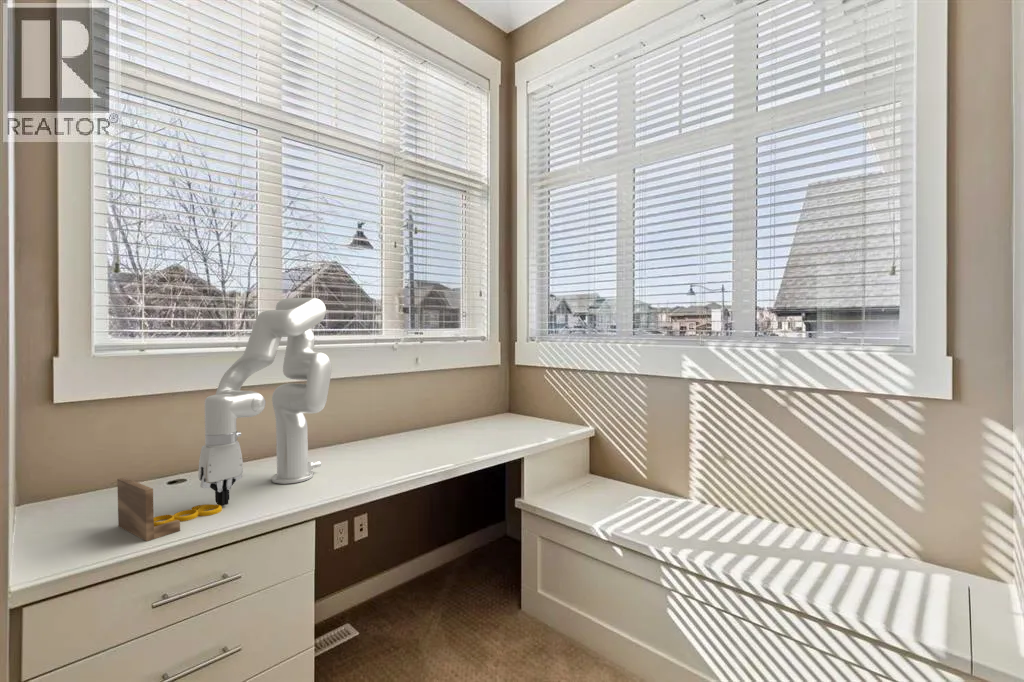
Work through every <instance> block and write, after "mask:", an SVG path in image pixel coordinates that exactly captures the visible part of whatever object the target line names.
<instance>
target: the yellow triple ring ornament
mask: <svg viewBox="0 0 1024 682" xmlns="http://www.w3.org/2000/svg"><path fill="white" fill-rule="evenodd" d="M222 509H223V506H221V505H218V504H209V503H207V504H198V505H195V506H192V507H191V509H186V510H181V511H179V512H178V511H177V512H176V513H174V514H173V515H172V514H161V515H158V516H154V527H155V526H158V525H162V524H165V523H168V522H172V521H175V520H179V521H180V523H181V522H186V521H187V522H188V521H192V520H194V519H197V518H199V517H209V516H213V515H216V514H219V513H221V512H222Z"/></svg>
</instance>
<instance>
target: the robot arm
mask: <svg viewBox="0 0 1024 682" xmlns="http://www.w3.org/2000/svg"><path fill="white" fill-rule="evenodd" d="M326 314H327V308H326V305H325V303H324V302H323V300H322V299H319V298H316V297H295V298H294V297H290V298H283V299H281V300H279V301H278V302H277V303H276V306H275V309H270V310H269V309H268V310H263V311H261V312H260V313H258V315H257V317H256V318H255V320H254V324H253V326H252V330H251V332H250V335H249V338H248V341H247V343H246V346H245V348H244V349H245V350H244V351H243V354H242V355H241V356H240V357H239V358H238V359H237V360H236V361H235V362H234V363H233V364H232V365H231V366H230V367H229V368H228V369H227V370H226V372H224V374H223V375H222V377H221V379H220V381H219V383H218V386H217V389H216V392H215V394H213V395H209V396H207V397H205V399H204V437H205V439H204V443H205V444H204V445H202V446H201V448H200V454H199V460H198V480H199V481H201V482H200V486H199V487H200V488H203V489H211V490H213V491H214V493H215V495H214V496H215V497H214V498H215V499H214V501H215V503H216V505H220V506H221V507H223V506H226V505H229V500H230V490H231V489H232V486H233V484H235V482H237V481H240V480H241V479H243V472H244V466H243V465H244V463H243V453H242V448H241V445H240V442H239V441H238V438H239V437H241V436H242V432H241V431H238V430H237V419H238V418H251V417H256V416H258V415H260V414H261V413H263V411H264V410H265V407H266V399H265V397H264V396H263V395H262V394H261V393H259V392H258V391H253V390H241V388H242V386H243V385H244V383H245V382H246V381H247V379H249V378H250V377H251V376H252V375H254V374H255V373H257V372H259V371H261V370H263V369H265V368H267V367H269V366H270V365H271V366H272V364H273V363H274V361H275V358H276V354H277V352H278V349H279V345H280V342H281V341H282V340H281V339H282V338H287V340H286V341H287V342H286V348H285V351H284V352H285V353H284V359H283V364H282V372H283V375H284V376H285V377H286V378H288V379H290V380H301V381H306V383H295V382H293V383H292V382H291V383H290V382H289V383H283V384H281V385H279V386H277V387H276V388H275V390H273V393H272V397H271V401H272V407H273V411H274V417H275V429H276V430H275V435H276V439H275V440H276V441H275V442H276V446H275V447H276V449H275V450H276V473H275V474H273V475H272V476H271V482H272V483H275V484H281V485H287V484H295V483H296V484H297V483H301V482H305V481H308V480H310V479H312V478H313V477H314V472H313V471H312V470H313V469H315V468H319V467H321V465H322V462H321V461H320V460H317V461H314V462H313V461H309V443H308V441H309V440H308V439H309V438H308V437H309V435H308V433H309V432H308V430H309V429H308V421H307V418H306V416H305V414H318V413H320V412H322V410H324V408H325V407H326V404H327V400H328V396H329V395H328V394H329V389H330V383H331V377H332V363H331V359H330V357H329V356H328V355H327V354H326V353H325V352H321V351H314V350H315V349H314V348H315V334H314V332H313V330H312V328H314V327H315V326H317V325H318V324H320V323H321V322H322V321H324V319H325V317H326Z"/></svg>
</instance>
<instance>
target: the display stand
mask: <svg viewBox="0 0 1024 682" xmlns="http://www.w3.org/2000/svg"><path fill="white" fill-rule="evenodd" d="M116 482H117V484H116V485H117V519H118V521H117V523H118V525H117V526H118V527H119V528H120V529H123V530H124V531H126V532H129V533H131V534H132V535H134V536H136V537H138V538H140V539H141V540H143V541H146V542H149V541H152V540H155V539H158V538H161V537H165V536H169V535H170V534H171V535H172V534H175V533H178V532H180V531H181V522H180V521H179V520H175V521H172V522H168V523H165V524H162V525H158V526H155V527H154V517H155V516H154V515H155V514H154V489H153V488H152V487H150V486H148V485H145V484H142V483H139V482H138V481H135V480H133V479H129V478H127V477H121V478H117V480H116Z"/></svg>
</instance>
